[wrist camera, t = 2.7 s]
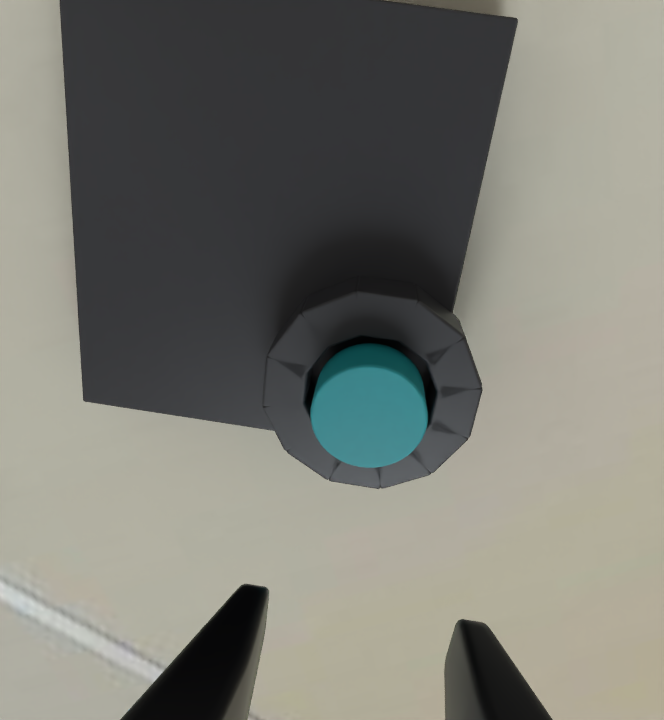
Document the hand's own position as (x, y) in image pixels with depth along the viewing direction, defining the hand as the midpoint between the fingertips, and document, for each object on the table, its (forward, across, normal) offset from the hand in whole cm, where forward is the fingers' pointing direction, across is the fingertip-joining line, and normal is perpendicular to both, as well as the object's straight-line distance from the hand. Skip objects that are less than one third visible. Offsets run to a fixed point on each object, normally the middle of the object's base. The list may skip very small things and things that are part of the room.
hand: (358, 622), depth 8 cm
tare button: (+8, 0, 0) cm, 8 cm away
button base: (+11, +4, -4) cm, 12 cm away
